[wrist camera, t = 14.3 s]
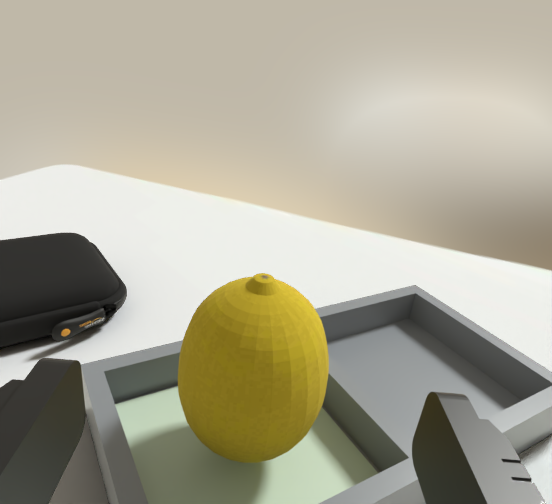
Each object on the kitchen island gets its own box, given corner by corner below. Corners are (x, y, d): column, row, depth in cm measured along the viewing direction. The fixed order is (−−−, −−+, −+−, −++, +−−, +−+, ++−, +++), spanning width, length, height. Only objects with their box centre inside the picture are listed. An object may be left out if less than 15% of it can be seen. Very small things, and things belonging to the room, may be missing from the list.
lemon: (281, 538, 15) (316, 345, 12) (146, 471, 17) (144, 286, 14) (328, 427, 20) (363, 267, 16) (219, 383, 22) (230, 231, 18)
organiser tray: (406, 317, 30) (415, 285, 29) (560, 428, 22) (580, 390, 21) (84, 408, 20) (80, 364, 19) (153, 674, 12) (151, 624, 11)
